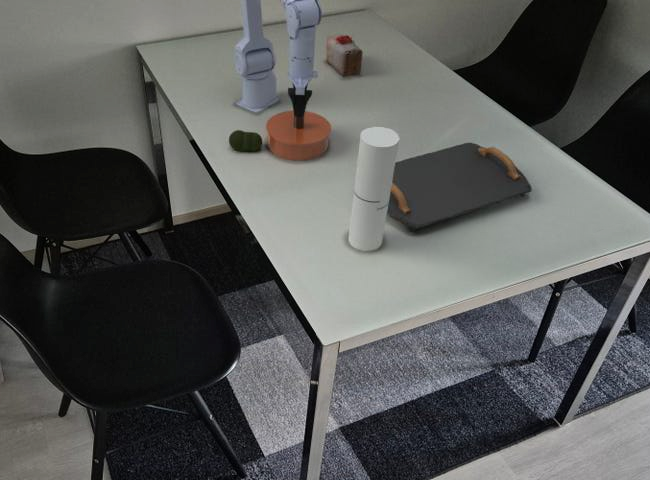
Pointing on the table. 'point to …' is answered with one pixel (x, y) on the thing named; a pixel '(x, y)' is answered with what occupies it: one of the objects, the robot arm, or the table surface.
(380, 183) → the cylindrical container
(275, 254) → the table surface
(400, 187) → the serving tray
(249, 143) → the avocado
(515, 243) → the table surface
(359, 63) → the food item
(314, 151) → the pot
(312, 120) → the lid
